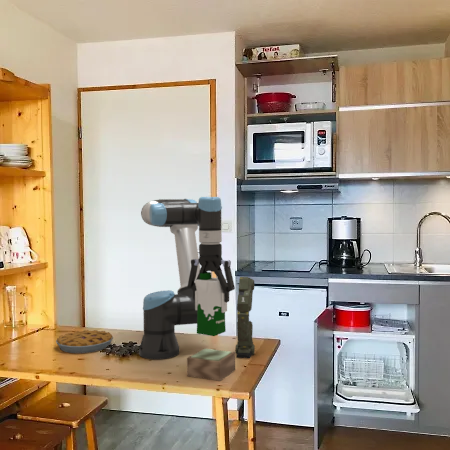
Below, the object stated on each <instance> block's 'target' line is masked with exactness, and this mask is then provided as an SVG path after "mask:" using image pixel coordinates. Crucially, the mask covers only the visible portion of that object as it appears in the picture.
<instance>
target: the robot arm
mask: <svg viewBox="0 0 450 450" xmlns="http://www.w3.org/2000/svg"><path fill="white" fill-rule="evenodd" d="M222 209H223V206H222V199H221V197H219V196H201V197H199V199H198V202H197V201H196V200H195V199H193V198H192V199H190V198H189V199H188V198H179V199H176V198H175V199H173V198H172V199H171V198H168V199H165V198H164V199H161V198H159V199H154V200H151V201H147V203H145V204H144V205H143V206H142V208H141V210H140V216H141V219H142V220H143V222H144V223H145V224H147V225H149V226H152V227H157V228H169V231H170V233H171V234H173V235H174V239H175V240H174V242H175V250H176V258H177V259H176V260H177V267H178V268H177V269H178V276H179V284H180V286H179V288H178V289H177V294H176V293H175V292H174V291H173V290H160V291H154V292H152V293H151V292H150V293H148V294H147V295H145V296H144V298H143V301H142V303H143V304H142V306H143V307H142V310H143V313H142V314H143V315H142V316H143V335H142V336H143V337H142V338H141V341H140V345H139V350H138V351H139V354H138V355H139V356H140V357H141V358H144V359H147V360H163V359H164V360H165V359H170V358H174V357H176V356H179V354H180V345H179V342H178V339H177V336H176V332H175V326H183V325H185V326H186V325H195V324H196V325H197V289H196V284H195V280H197V279H200V273H206V272H211V273H212V272H213V273H214V274H215V276H216V278H218V280H219V282H220V285H221V287H222V289H223V291H224V292H222V293H221V303H222V313H224V312H225V313H226V312H228V303H229V302H230V292H232V291H235V289H236V287H235V283H234V282H235V281H234V279H233V273H232V269H231V263H232V261H231V260H229V259H228V260H225V259H223V257H222V254H223V251H222V250H223V249H222V248H223V246H222V244H221V243H222V241H223V240H222V239H223V238H222ZM197 230H198V242H199V245H198V243H197V237H196V231H197ZM221 265H222V267H223V270H224V273H223V270H222V267H221ZM224 274H225V276H224ZM225 279H226V280H225Z"/></svg>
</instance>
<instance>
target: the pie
mask: <svg viewBox="0 0 450 450" xmlns="http://www.w3.org/2000/svg"><path fill="white" fill-rule="evenodd" d="M113 339H114V337H113V335H112V334H111V332H110V331H107V332H106V331H105V330H101V331H98V330H96V329H95V330H89V329H87V330H86V329H84V330H83V331H79V330H77V331H73V332H71V333H70V332H69V333H65V334H64V335H60V336H58V338H56V340H55V342H56V345H58V346H59V349H60V350H61V351H63V352H65V353H71V354H87V353H94V352H98V351H102V350H104V348H105V349H107V348H108V347H109V346H108V345H110V346H111V344H112V341H113ZM107 346H108V347H107ZM106 347H107V348H106Z"/></svg>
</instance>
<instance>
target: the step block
mask: <svg viewBox="0 0 450 450" xmlns="http://www.w3.org/2000/svg"><path fill="white" fill-rule="evenodd" d="M186 368H187V371H186V372H187V373H186V374H187V377H192V378H197V379H198V378H199V379H205V380H211V381H218V382H221V381H223V380H224V379H225V378H226V377H228V376H229V375H230V374H232V373H233V372H234V371H236V351H235V352H234V351H230V350H229V351H228V350H219V349H213V348H212V349H211V348H202V349H201V350H199V351H196V352H195V353H193V354H191V355H190V356H188V357H186Z"/></svg>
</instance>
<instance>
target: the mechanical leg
mask: <svg viewBox="0 0 450 450" xmlns="http://www.w3.org/2000/svg"><path fill="white" fill-rule="evenodd" d="M254 290H255V280H254V279H253V278H251V277H249V276H240V277H239V281H238V294H237V301H236V311H237V313H236V316H237V321H236V331H237V344H235V349H234V350H235V359H250V358H251V357H252V356H253V355H255V352H256V351H255V349H256V348H255V347H256V346H255V344H254V340H253V322H252V321H251V320H250V312H251V310H253V309H252V307H253V294H254V293H253V292H254Z"/></svg>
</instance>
